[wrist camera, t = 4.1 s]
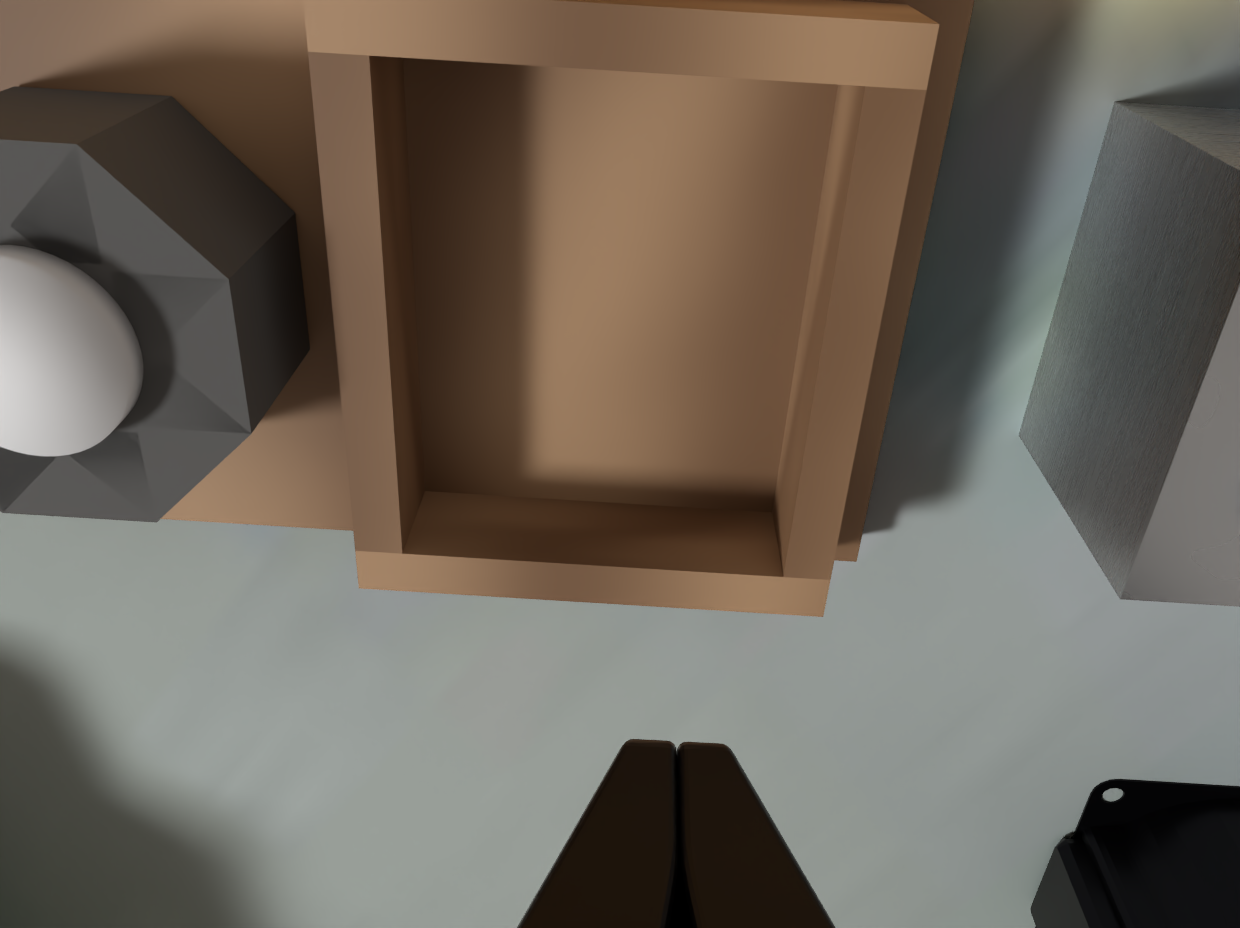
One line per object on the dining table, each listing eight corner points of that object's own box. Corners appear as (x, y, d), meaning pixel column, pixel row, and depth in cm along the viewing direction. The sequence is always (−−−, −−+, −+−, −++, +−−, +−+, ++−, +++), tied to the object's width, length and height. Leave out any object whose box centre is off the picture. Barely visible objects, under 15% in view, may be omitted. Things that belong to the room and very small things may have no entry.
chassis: (961, -13, 15) (1035, 18, 12) (849, 537, 20) (882, 655, 18) (-111, -80, 15) (-297, -64, 12) (44, 488, 20) (-61, 597, 17)
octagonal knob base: (282, 103, 16) (194, 162, 13) (319, 435, 19) (254, 547, 16) (-98, 79, 16) (-277, 133, 13) (-1, 415, 19) (-128, 524, 16)
